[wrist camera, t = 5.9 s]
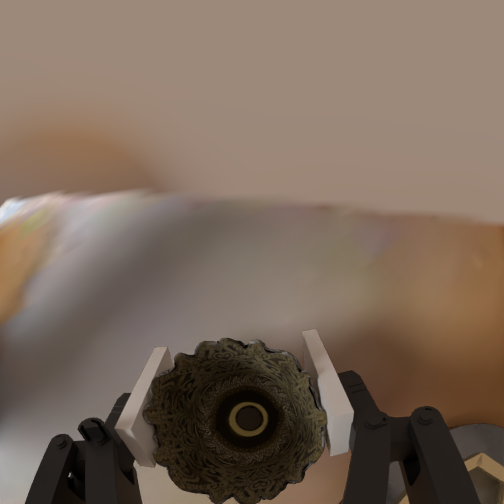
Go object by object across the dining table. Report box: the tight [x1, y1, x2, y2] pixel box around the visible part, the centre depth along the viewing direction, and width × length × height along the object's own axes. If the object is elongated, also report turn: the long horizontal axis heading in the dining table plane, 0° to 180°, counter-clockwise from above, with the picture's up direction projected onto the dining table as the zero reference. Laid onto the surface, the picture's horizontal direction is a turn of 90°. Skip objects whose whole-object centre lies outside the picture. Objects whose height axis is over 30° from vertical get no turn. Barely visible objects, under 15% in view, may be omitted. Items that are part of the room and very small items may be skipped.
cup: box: [142, 338, 328, 504], centre depth 13 cm, size 8×7×8 cm
